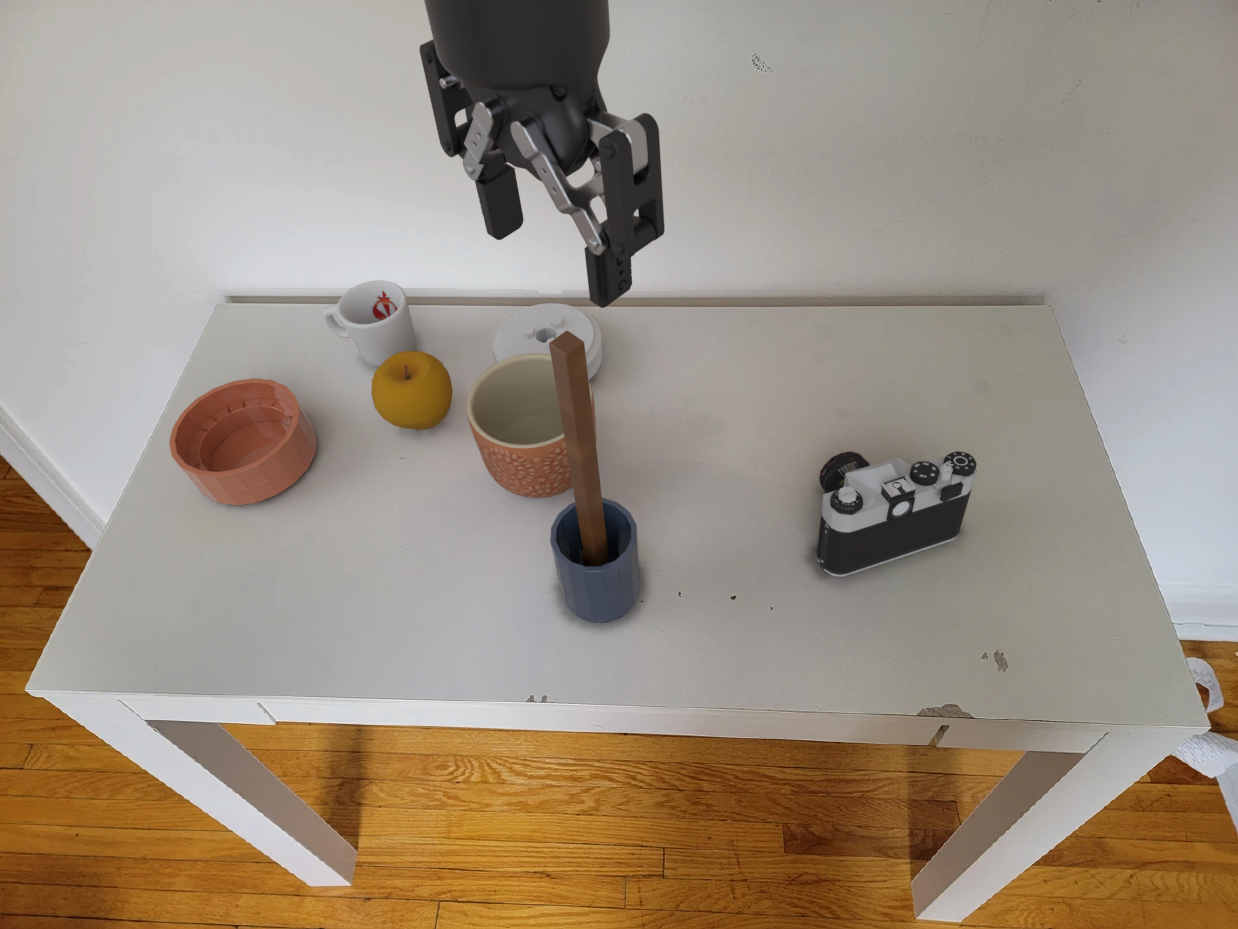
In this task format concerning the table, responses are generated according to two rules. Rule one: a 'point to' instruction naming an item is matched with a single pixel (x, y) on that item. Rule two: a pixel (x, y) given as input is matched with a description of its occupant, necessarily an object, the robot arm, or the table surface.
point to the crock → (597, 587)
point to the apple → (412, 390)
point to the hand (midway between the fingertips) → (556, 263)
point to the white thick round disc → (547, 332)
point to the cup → (374, 320)
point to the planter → (521, 426)
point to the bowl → (244, 441)
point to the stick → (580, 444)
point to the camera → (889, 508)
